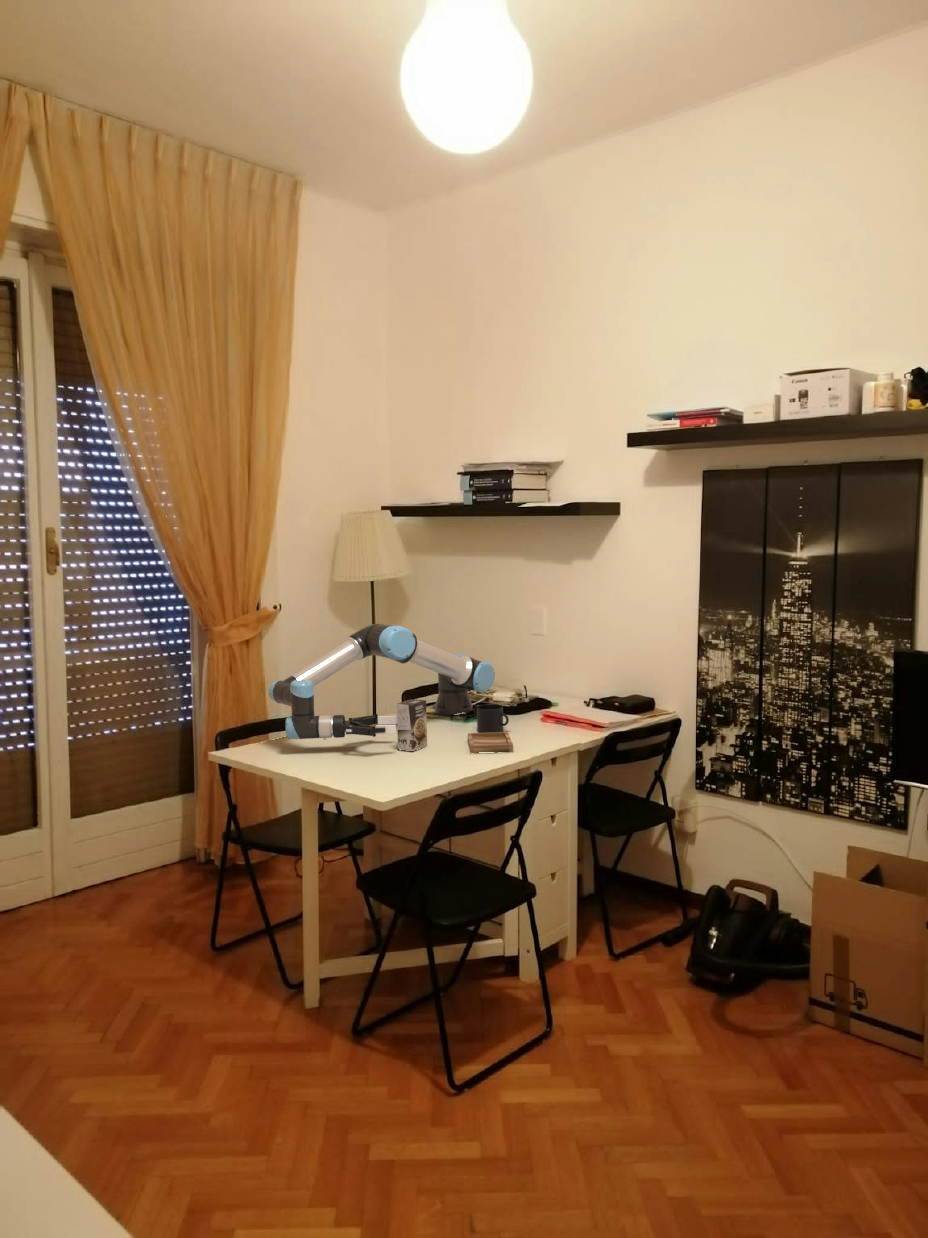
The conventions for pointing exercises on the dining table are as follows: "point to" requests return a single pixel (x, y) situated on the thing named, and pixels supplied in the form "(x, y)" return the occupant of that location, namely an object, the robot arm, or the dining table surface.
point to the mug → (490, 718)
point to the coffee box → (412, 724)
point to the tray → (490, 742)
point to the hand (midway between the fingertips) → (396, 724)
